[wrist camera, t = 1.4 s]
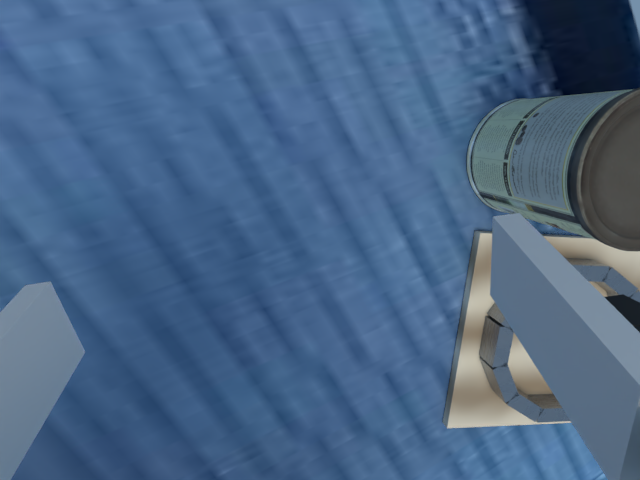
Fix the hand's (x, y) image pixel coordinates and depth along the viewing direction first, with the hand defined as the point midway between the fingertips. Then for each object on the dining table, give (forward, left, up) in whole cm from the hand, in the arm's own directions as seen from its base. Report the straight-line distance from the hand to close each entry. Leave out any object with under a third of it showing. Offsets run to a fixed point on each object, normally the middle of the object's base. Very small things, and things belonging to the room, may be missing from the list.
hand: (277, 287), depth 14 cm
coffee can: (+4, -24, -26) cm, 36 cm away
